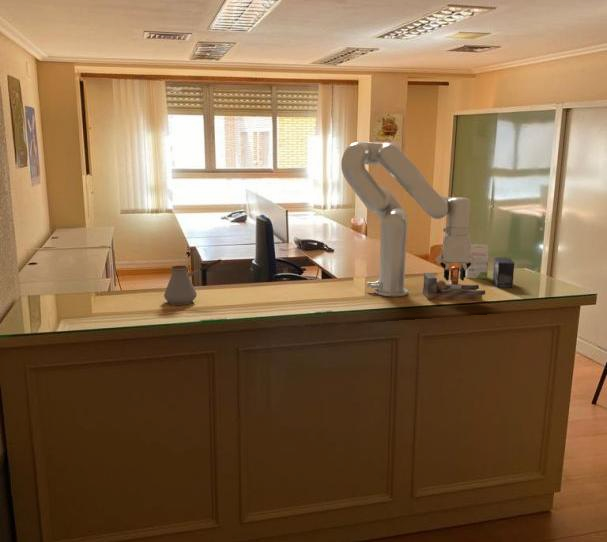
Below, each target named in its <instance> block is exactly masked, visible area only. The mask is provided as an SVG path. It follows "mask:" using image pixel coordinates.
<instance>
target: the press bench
mask: <svg viewBox="0 0 607 542" xmlns="http://www.w3.org/2000/svg"><path fill="white" fill-rule="evenodd" d="M437 280H438V278H437V277H436V276H435V275H434V274H433V273H432V272H430V273H429V272H428V273H427V272H426V273H425V272H424V274H423V286H422V287H423V288H422V294H423V295H424V297H425V298H426V300H429V301H435V300H436V301H438V300H439V301H445V300H446V301H453V300H454V301H483V296H484V295H486V290H485V289H479V287H480V286H479V284H461V290H447V289H446V288H445V290H441V292H439V291H437V290H436V284H437ZM446 285H447V283H446Z"/></svg>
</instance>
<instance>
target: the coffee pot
mask: <svg viewBox="0 0 607 542" xmlns="http://www.w3.org/2000/svg"><path fill="white" fill-rule="evenodd" d="M220 262H221V264H222V265H224V263H223V260H222V259H221V258H220V259H217V260H215V261H212V262H210V263H207V264H205V265H204V266H202V267H200V268H198V269H196V270H193V271H191V272H190V273H188V269H190V268H189V266H188V265H173V266H171V267H169V269H170V270H171V272H172V273H171V275H170V279H169V281H168V283H167V286H166V289H165V291H164V294H163V297H164V299H165V300H166V301H167V302H168V303H169V305H172V306H186V305H190V304H191V303H192V302H193V301H195V299H197V294H198V293H197V291H196V289H195V287H194V285H193V282H192V280H191V278H190V277H191V276H193V275H195V274H197V273H199V272H201V271H204V270H206V269H208V268H211V267H212V266H214V265H217V264H218V263H220Z"/></svg>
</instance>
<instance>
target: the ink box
mask: <svg viewBox="0 0 607 542" xmlns="http://www.w3.org/2000/svg"><path fill="white" fill-rule="evenodd" d="M479 247H480V248H479ZM489 254H490V253H489V244H488V243H487V244H484V243H482V244H481V243H471V255H472V256H473V257H474V259H475V260H476V261H475V262H474V263H473V264H471V265H470V266H469V267H468V268H467V270H466V274H465V278H467V279H488V270H489V256H490V255H489Z"/></svg>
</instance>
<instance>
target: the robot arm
mask: <svg viewBox="0 0 607 542" xmlns="http://www.w3.org/2000/svg"><path fill="white" fill-rule="evenodd" d="M340 164H341V172H342V175H343V177H344V179H345V181H346V183H348V185H349V186H350V188H351V189H352V191H354V193H355V194H356V195H357V197H358V198H359V200H360V201H361V202H362V203H363V205H364V206H365V208H366V209H367V210H368V211H370V212H371V213H374V214H375V215H376V217H378V219H379V220H380V242H379V243H380V246H379V247H380V248H379V252H380V253H379V272H378V273H379V274H378V275H379V277H378V279H377V280H376V281H375V282H372V281H366V287H367V288H370V289H374V293H375V294H376V295H378V296H384V297H391V298H392V297H404V296H406V295H408V294H409V289H407V288H405V275H406V274H405V273H406V254H407V253H406V252H407V250H406V249H407V234H408V233H407V231H408V230H407V229H408V222H409V217H408V214H407V212H406V211H405V210H404V208H403V207H402V206H401V204H400V203H399V202H398V201H397V199H396V198H395V197H394V195H393V194H392V193H391V192H390V191H389V190H388V189H387V188H386V187H384V186H382V185H380V184H379V183H378V182H377V180H375V178H374V177H373V176H372V174H371V173H370V172H369V171H368V170H367V168H366V165H368V166H369V165H370V166H382V167H383V168H384V170H386V171H387V172H388V173H389V174H390V175H391V177H392V178H394V179H395V181H396V182H397V183H398V184H399V185H400V186H401V187H402V188H403V189H404V191H406V193H407V194H409V196H410V197H411V198H412V199H413V201H415V202H416V203H417V205H418V206H419V207H420V208H421V209H422V210H423V211H424V212H425V213H426V214H427V215H428V216H429V217H430V218H432V219H435V220H441V219H443V218H445V217H446V216H447V225H446V227H444V228H443V229H442V232H443V233H446V234H444V238H443V242H442V248H441V253H439V255H438V256H437V257H436V258H435V262H437V263H438V265H440V266H441V267H442V268H443V278H444V280H445V281H446V282H447V281H450V266H451V265H450V264H453V263H454V264H461V268H459V279H460V280H461V281H465V278H466V276H465V274H466V270H467V268H468V267H469V266H470V265H471V264H473V263H474V262H475V261H476V260H475V259H474V257H473V256H472V255H471V244H472V240H471V239H472V238H471V235H469V226H470V223H469V222H470V211H471V200H470V198H468V197H461V196H458V197H457V196H456V197H455V196H454V197H450V196H449V197H448V196H443V195H440V194H439V193H438V192H437V191H436V190H435V189H434V188H433V187H432V186H431V184H430V183H429V182H428V181H427V179H426V177H425V176H424V174H423V172H422V171H421V170H420V169H419V168H418V167H417V165H415V164H414V163H413V162H412V161H411V160H410V159H409V157H408V156H407V155H406V154H405V153H404V152H403V151H402V150H401V148H400V146H398V145H397V144H396V143H394V142H369V141H356V142H351V144H349V145H348V146H347V147H346V149H345V150H344V152H343V154H342V158H341V162H340Z"/></svg>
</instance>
